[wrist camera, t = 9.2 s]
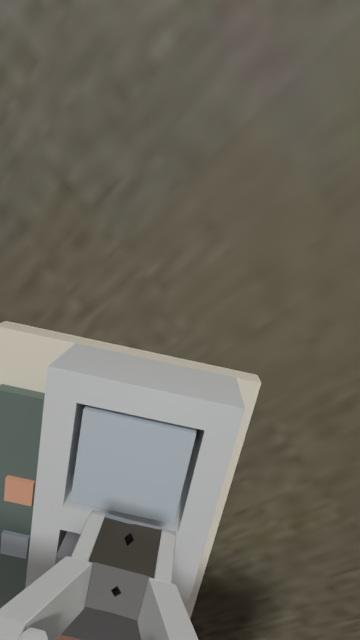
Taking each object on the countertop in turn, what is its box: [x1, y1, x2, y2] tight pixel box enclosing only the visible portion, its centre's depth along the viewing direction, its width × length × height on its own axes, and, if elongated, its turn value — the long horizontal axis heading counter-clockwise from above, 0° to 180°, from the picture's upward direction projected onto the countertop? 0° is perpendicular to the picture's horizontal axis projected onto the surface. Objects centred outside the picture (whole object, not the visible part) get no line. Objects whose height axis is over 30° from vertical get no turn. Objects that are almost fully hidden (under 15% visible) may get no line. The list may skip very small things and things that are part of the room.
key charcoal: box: [55, 531, 141, 640], centre depth 16 cm, size 5×5×2 cm
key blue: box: [70, 405, 196, 524], centre depth 15 cm, size 5×5×2 cm
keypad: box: [0, 321, 261, 618], centre depth 17 cm, size 14×22×4 cm, turn 168°
